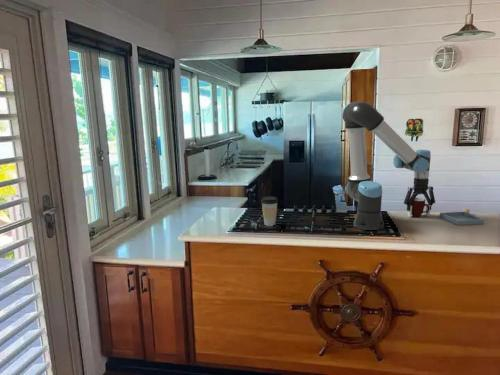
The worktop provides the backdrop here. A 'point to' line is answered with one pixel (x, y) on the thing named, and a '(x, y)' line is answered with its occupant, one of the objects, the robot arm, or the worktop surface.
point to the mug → (418, 207)
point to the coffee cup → (269, 210)
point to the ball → (466, 210)
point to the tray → (461, 218)
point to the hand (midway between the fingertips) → (418, 215)
